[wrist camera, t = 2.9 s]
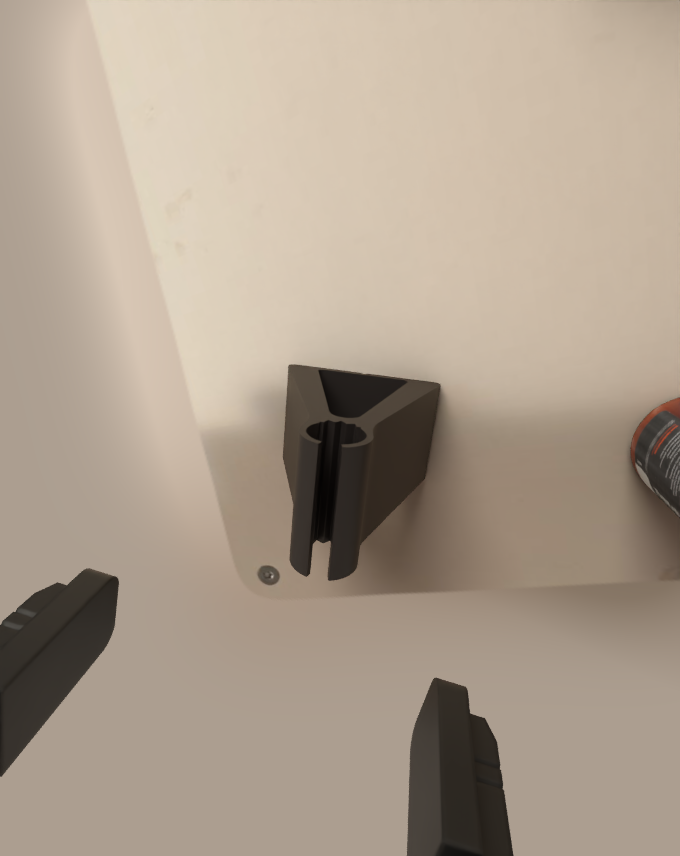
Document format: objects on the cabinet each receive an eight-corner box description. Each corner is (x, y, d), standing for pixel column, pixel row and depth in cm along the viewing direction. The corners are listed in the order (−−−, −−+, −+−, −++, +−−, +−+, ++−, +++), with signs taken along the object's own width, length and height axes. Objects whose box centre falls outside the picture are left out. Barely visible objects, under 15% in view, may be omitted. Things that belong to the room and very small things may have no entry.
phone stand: (440, 383, 30) (452, 463, 19) (424, 476, 32) (426, 599, 21) (290, 362, 31) (215, 427, 20) (284, 454, 33) (212, 560, 22)
